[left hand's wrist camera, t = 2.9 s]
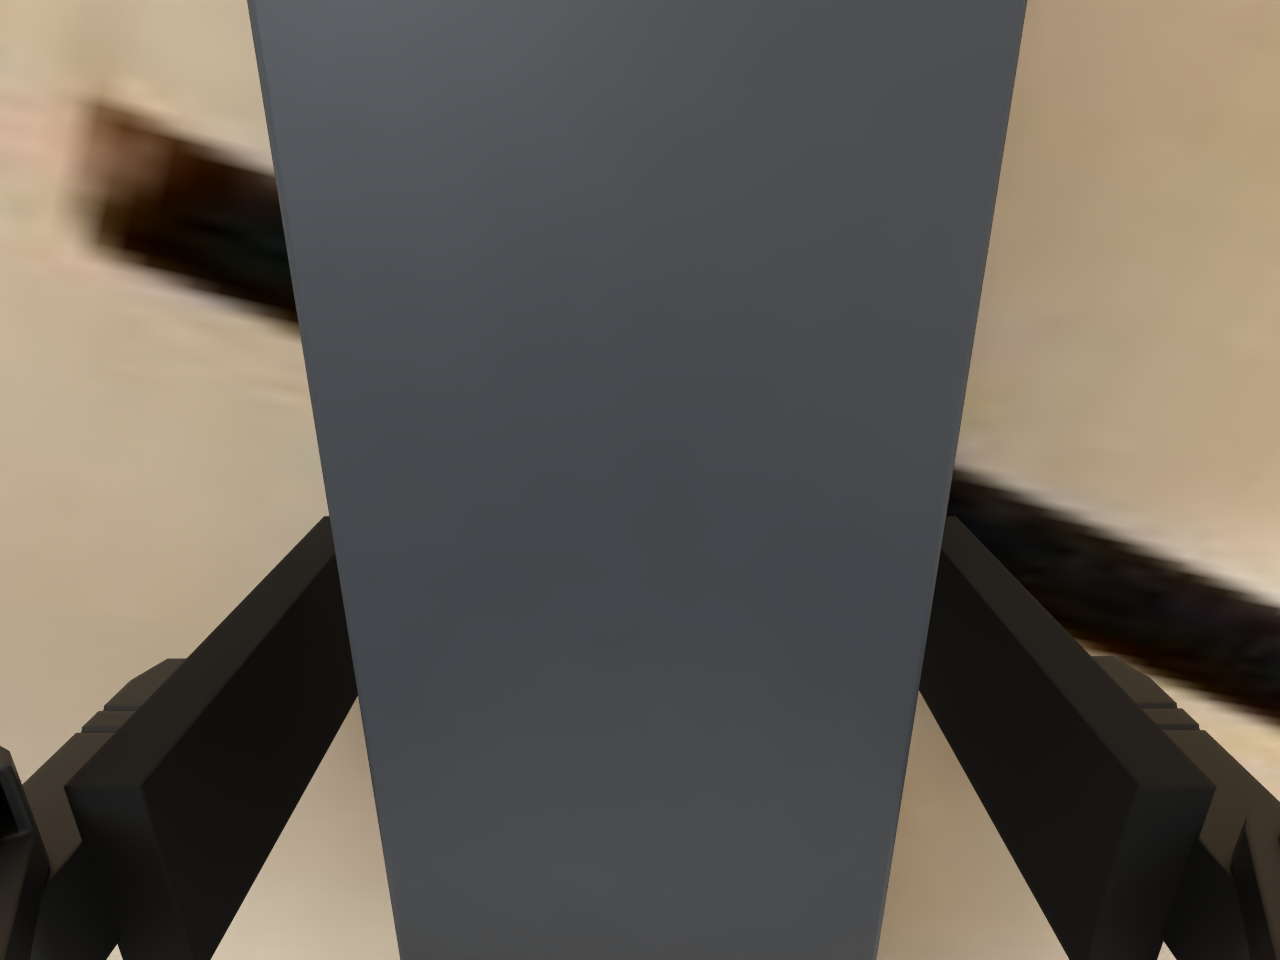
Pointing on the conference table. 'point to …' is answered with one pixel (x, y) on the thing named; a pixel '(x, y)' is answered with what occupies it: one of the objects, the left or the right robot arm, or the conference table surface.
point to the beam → (637, 441)
